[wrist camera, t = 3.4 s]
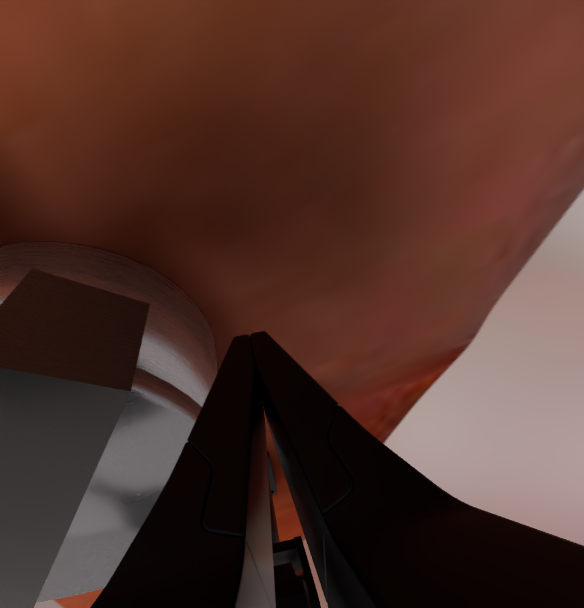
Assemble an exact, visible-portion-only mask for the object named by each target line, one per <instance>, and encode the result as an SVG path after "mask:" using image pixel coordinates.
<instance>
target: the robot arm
mask: <svg viewBox="0 0 584 608" xmlns="http://www.w3.org/2000/svg"><path fill="white" fill-rule="evenodd" d="M250 339H251V340H250ZM262 402H263V403H262ZM263 407H264V408H263ZM264 411H265V415H266V419H267V422H268V425H269V428H270V431H271V434H272V437H273V440H274V443H275V447H276V450H277V453H278V456H279V459H280V462H281V465H282V468H283V471H284V474H285V477H286V480H287V483H288V486H289V489H290V492H291V495H292V498H293V501H294V504H295V507H296V510H297V514H298V517H299V520H300V523H301V526H302V529H303V532H304V535H305V538H306V541H307V544H308V547H309V550H310V553H311V556H312V559H313V562H314V565H315V568H316V571H317V574H318V577H319V581H320V583H321V586H322V590H323V593H324V596H325V598H326V602H327V603H328V608H584V546H583V545H580V544H577V543H574V542H571V541H569V540H566V539H563V538H560V537H557V536H554V535H552V534H549V533H546V532H543V531H540V530H537V529H535V528H532V527H529V526H526V525H523V524H520V523H518V522H515V521H512V520H509V519H506V518H503V517H501V516H498V515H495V514H492V513H489V512H486V511H484V510H481V509H478V508H475V507H473V506H470V505H468V504H466V503H464V502H462V501H460V500H458V499H457V498H455V497H453V496H451V495H450V494H448V493H447V492H445V491H444V490H442V489H441V488H439V487H438V486H437V485H436V484H434V483H433V482H432V481H430V480H429V479H428V478H426V477H425V476H424V475H423V474H421V473H420V472H419V471H417V470H416V469H415V468H414V467H412V466H411V465H410V464H408V463H407V462H406V461H404V460H403V459H402V458H401V457H399V456H398V455H397V454H395V453H394V452H393V451H392V450H390V449H389V448H388V447H387V446H385V445H384V444H383V443H382V442H380V441H379V440H378V439H377V438H375V437H374V436H373V435H372V434H371V433H369V432H368V431H367V430H366V429H365V428H364V427H363V426H362V425H360V424H359V423H358V422H357V421H356V420H355V419H354V418H353V417H352V416H351V415H350V414H349V413H348V412H347V411H346V410H345V409H344V408H343V407H342V406H339V404H338V403H337V402H336V401H335V400H334V399H333V398H332V397H331V396H330V395H329V394H328V393H327V392H326V391H325V390H324V389H323V388H322V387H321V386H320V385H319V384H318V383H317V382H316V381H315V380H314V379H313V378H312V377H311V376H310V375H309V374H308V373H307V372H306V371H305V370H304V369H303V368H302V367H301V366H300V365H299V364H298V363H297V362H296V361H295V360H294V359H293V358H292V357H291V356H290V355H289V354H288V353H287V352H286V351H285V350H284V349H283V348H282V347H281V346H280V345H279V344H278V343H277V342H276V341H275V340H274V339H273V338H272V337H271V336H270V335H269V334H268V333H266V332H265V331H261V332H256V333H252V334H250V336H249V335H248V334H246V335H241V336H236V337H234V338H233V340H232V342H231V344H230V346H229V349H228V351H227V353H226V355H225V357H224V360H223V362H222V364H221V366H220V368H219V371H218V373H217V375H216V377H215V379H214V382H213V384H212V386H211V388H210V390H209V393H208V395H207V397H206V399H205V401H204V404H203V406H202V408H201V410H200V412H199V415H198V417H197V419H196V421H195V423H194V426H193V428H192V430H191V432H190V434H189V437H188V439H187V441H188V442H186V443H185V445H184V447H183V450H182V452H181V454H180V456H179V458H178V460H177V462H176V464H175V467H174V469H173V471H172V473H171V475H170V477H169V479H168V481H167V483H166V484H165V486H164V488H163V490H162V491H161V493H160V495H159V497H158V499H157V500H156V502H155V504H154V506H153V507H152V509H151V511H150V512H149V514H148V516H147V518H146V519H145V521H144V523H143V524H142V526H141V528H140V529H139V531H138V533H137V535H136V536H135V538H134V540H133V541H132V543H131V545H130V546H129V548H128V550H127V551H126V553H125V555H124V557H123V558H122V560H121V562H120V563H119V565H118V567H117V568H116V570H115V572H114V573H113V575H112V577H111V578H110V580H109V582H108V583H107V585H106V586H105V588H104V589H103V591H102V592H101V594H100V595H99V597H98V598H97V599H96V601H95V602H94V603H93V605H92V606H91V607H90V608H321V606H320V601H319V598H318V594H317V590H316V587H315V583H314V580H313V576H312V573H311V569H310V566H309V563H308V559H307V555H306V552H305V549H304V545H303V542H302V538H301V536H298V537H294V539H291V540H287V541H282V542H280V541H279V535H278V529H277V523H276V517H275V511H274V505H273V499H272V495H273V494H275V493H276V491H277V490H276V485H275V480H274V476H273V471H272V466H271V462H270V457H269V453H268V452H267V446H266V429H265V415H264Z"/></svg>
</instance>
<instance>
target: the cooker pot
mask: <svg viewBox="0 0 584 608" xmlns="http://www.w3.org/2000/svg"><path fill="white" fill-rule="evenodd" d="M32 268H33V269H37V270H40V271H43V272H46V273H50V274H53V275H56V276H60V277H63V278H66V279H70V280H73V281H76V282H80V283H83V284H86V285H90V286H93V287H96V288H100V289H103V290H106V291H109V292H113V293H116V294H119V295H123V296H126V297H129V298H133V299H136V300H139V301H143V302H146V303H149V304H150V307H149V312H148V316H147V321H146V325H145V330H144V334H143V339H142V343H141V348H140V352H139V357H138V361H137V366H136V367H137V368H140V369H142V370H144V371H147V372H149V373H151V374H153V375H155V376H157V377H159V378H161V379H163V380H165V381H167V382H169V383H170V384H172V385H173V386H175V387H176V388H178V389H179V390H181V391H182V392H184V393H186V394H187V395H189V396H190V397H191V398H192V399H193V400H194V401H196V402H197V403H198V404H199V405H200V406H201V407H202V406H203V404H204V401H205V399H206V397H207V395H208V393H209V390H210V388H211V386H212V384H213V382H214V379H215V377H216V375H217V359H216V346H215V341H214V336H213V334H212V331H211V328H210V326H209V324H208V322H207V320H206V318H205V317H204V315H203V313H202V311H201V310H200V309H199V308H198V306H197V305H196V304H195V303H194V301H193V300H192V299H191V298H190V297H189V296H188V295H187V294H186V293H185V292H184V291H183V290H182V289H181V288H180V287H178V286H177V285H176V284H174V283H173V282H172V281H170V280H169V279H168V278H166V277H165V276H163V275H162V274H160V273H158V272H156V271H155V270H153V269H151V268H150V267H148V266H146V265H144V264H141V263H139V262H137V261H135V260H132V259H130V258H128V257H125V256H122V255H119V254H116V253H113V252H110V251H107V250H103V249H98V248H94V247H89V246H85V245H79V244H70V243H62V242H26V243H15V244H7V245H3V246H0V305H1V304H2V303H3V301H4V300H5V299H6V298H7V297H8V296H9V294H10V293H11V292H12V291H13V290H14V289H15V288H16V286H17V285H18V284H19V283H20V282H21V281H22V279H23V278H24V277H25V276H26V275H27V274H28V272H29V271H30V270H31V269H32Z"/></svg>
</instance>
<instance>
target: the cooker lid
mask: <svg viewBox="0 0 584 608" xmlns="http://www.w3.org/2000/svg"><path fill="white" fill-rule="evenodd" d="M149 307H150V304H149V303H146V302H143V301H139V300H136V299H133V298H129V297H126V296H123V295H119V294H116V293H113V292H109V291H106V290H103V289H100V288H96V287H93V286H90V285H86V284H83V283H80V282H76V281H73V280H70V279H66V278H63V277H60V276H56V275H53V274H50V273H46V272H43V271H40V270H37V269H33V268H32V269H31V270H30V271H29V272H28V274H27V275H26V276H25V277H24V278H23V279H22V281H21V282H20V283H19V284H18V285H17V286H16V288H15V289H14V290H13V291H12V292H11V293H10V294H9V296H8V297H7V298H6V299H5V300H4V301H3V303H2V304H1V305H0V608H34V606H35V603H36V602H42V601H48V600H54V599H59V598H65V597H69V596H74V595H78V594H83V593H87V592H91V591H95V590H98V589H102V588H105V586H106V585H107V583H108V582H109V580H110V578H111V577H112V575H113V573H114V572H115V570H116V568H117V567H118V565H119V563H120V562H121V560H122V558H123V557H124V555H125V553H126V551H127V550H128V548H129V546H130V545H131V543H132V541H133V540H134V538H135V536H136V535H137V533H138V531H139V529H140V528H141V526H142V524H143V523H144V521H145V519H146V518H147V516H148V514H149V512H150V511H151V509H152V507H153V506H154V504H155V502H156V500H157V499H158V497H159V495H160V493H161V491H162V490H163V488H164V486H165V484H166V483H167V481H168V479H169V477H170V475H171V473H172V471H173V469H174V467H175V464H176V462H177V460H178V458H179V456H180V454H181V452H182V450H183V447H184V445H185V443H186V442H188V441H187V439H188V437H189V434H190V432H191V430H192V428H193V426H194V423H195V421H196V419H197V417H198V415H199V412H200V410H201V408H202V407H201V406H200V405H199V404H198V403H197V402H196V401H194V400H193V399H192V398H191V397H190V396H189V395H187V394H186V393H184V392H182V391H181V390H179V389H178V388H176V387H175V386H173V385H172V384H170V383H169V382H167V381H165V380H163V379H161V378H159V377H157V376H155V375H153V374H151V373H149V372H147V371H144V370H142V369H140V368H137V367H136V366H137V361H138V357H139V352H140V348H141V343H142V339H143V334H144V330H145V325H146V321H147V316H148V312H149Z"/></svg>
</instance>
